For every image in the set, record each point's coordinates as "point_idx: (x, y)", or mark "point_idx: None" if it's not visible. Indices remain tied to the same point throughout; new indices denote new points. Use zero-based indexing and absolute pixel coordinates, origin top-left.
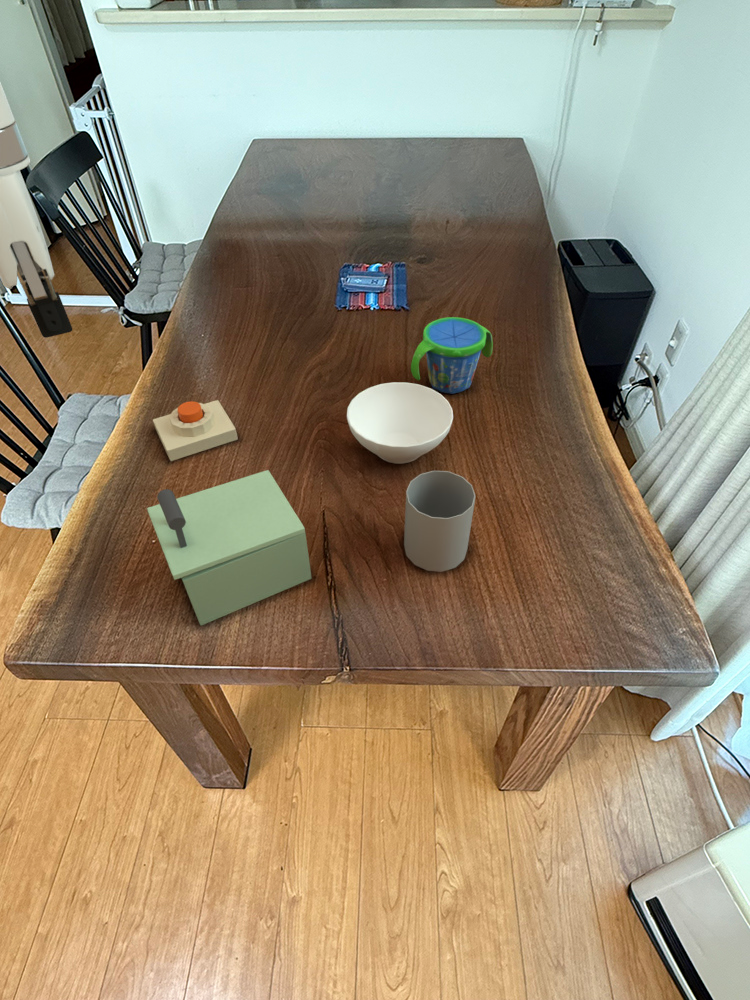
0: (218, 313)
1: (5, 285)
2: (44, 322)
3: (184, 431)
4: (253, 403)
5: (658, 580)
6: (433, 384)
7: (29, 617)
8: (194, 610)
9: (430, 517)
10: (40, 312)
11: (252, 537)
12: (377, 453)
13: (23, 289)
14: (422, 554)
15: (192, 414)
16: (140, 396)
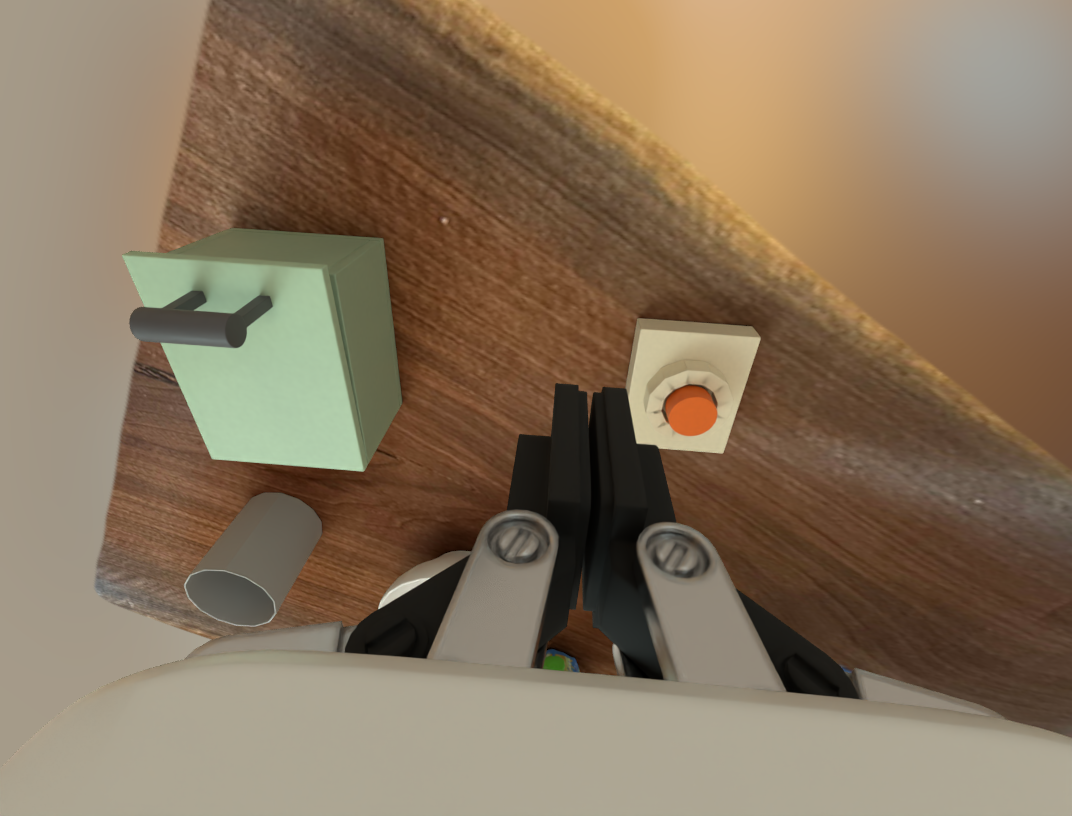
0: (1021, 548)
1: (62, 714)
2: (515, 459)
3: (659, 378)
4: (693, 484)
5: (187, 623)
6: (550, 655)
7: None
8: (204, 238)
9: (191, 573)
10: (509, 500)
11: (201, 395)
12: (419, 565)
13: (442, 628)
14: (242, 513)
15: (669, 414)
16: (892, 335)
